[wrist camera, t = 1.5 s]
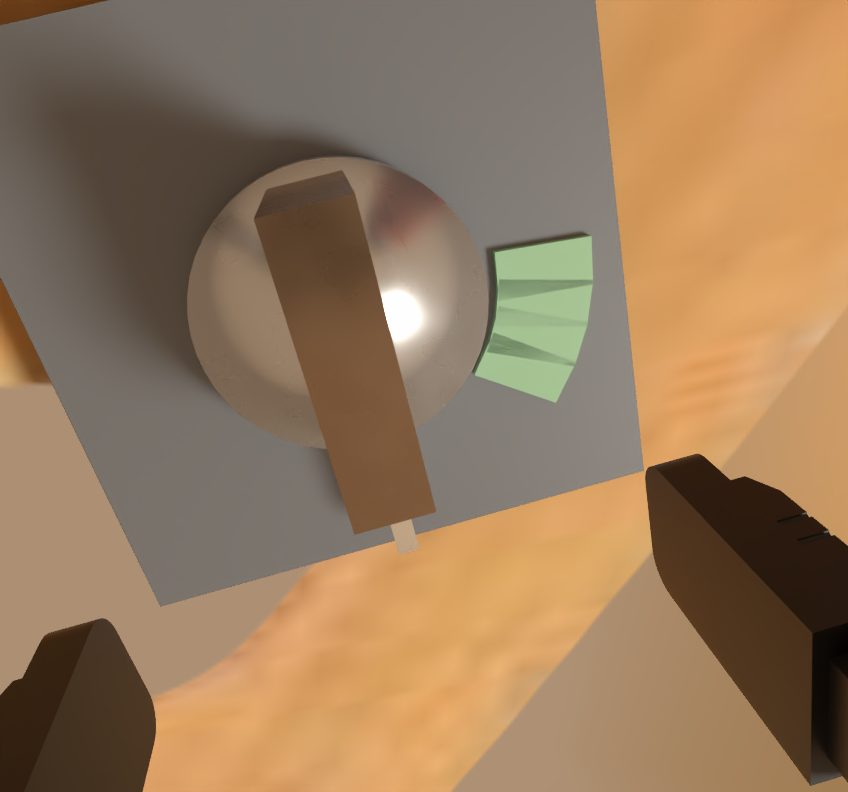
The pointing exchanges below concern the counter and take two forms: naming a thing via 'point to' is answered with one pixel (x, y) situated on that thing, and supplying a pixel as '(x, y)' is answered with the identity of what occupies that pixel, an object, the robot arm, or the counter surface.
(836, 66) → the counter surface
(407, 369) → the dial
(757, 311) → the counter surface
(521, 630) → the counter surface
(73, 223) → the dial plate
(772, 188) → the counter surface
